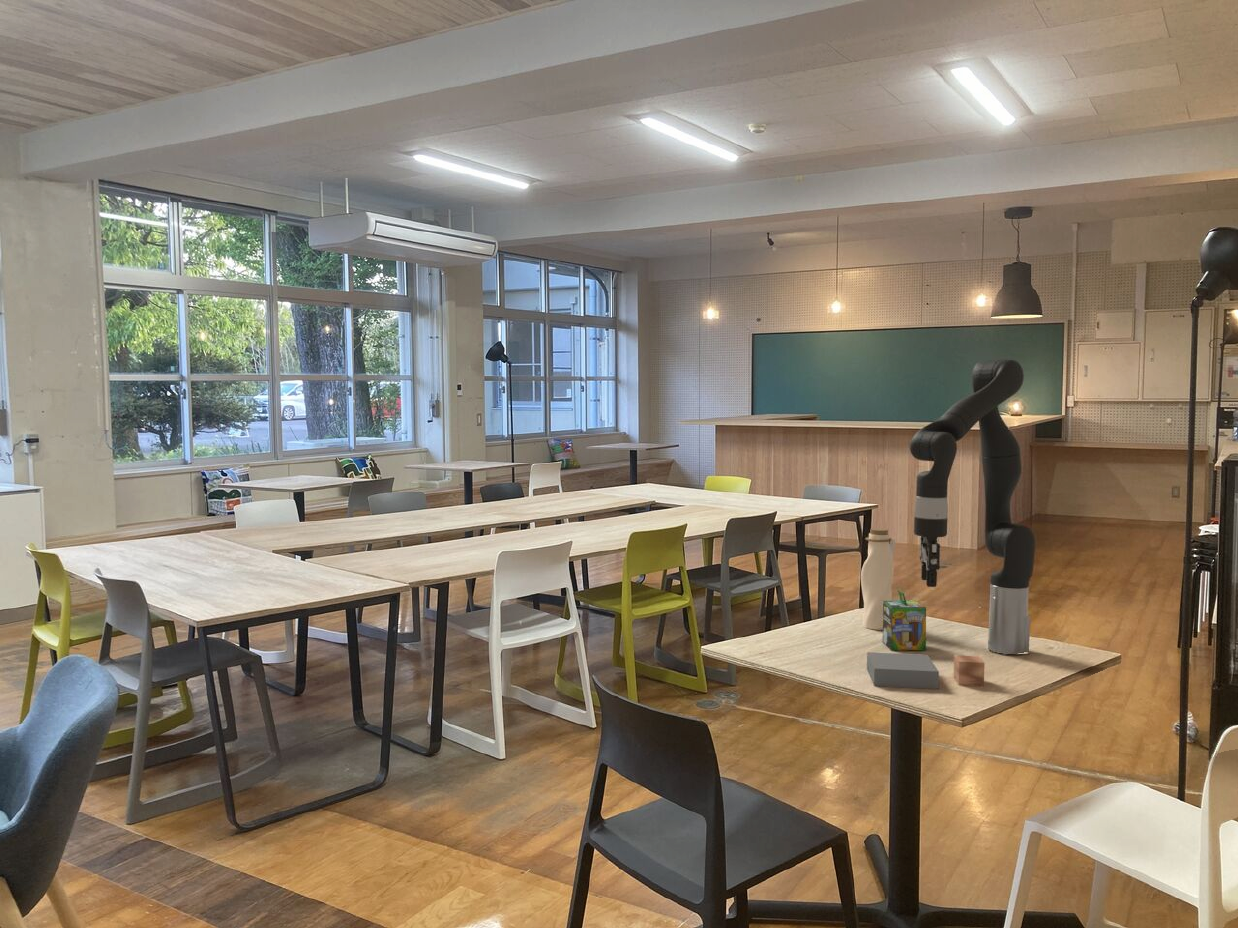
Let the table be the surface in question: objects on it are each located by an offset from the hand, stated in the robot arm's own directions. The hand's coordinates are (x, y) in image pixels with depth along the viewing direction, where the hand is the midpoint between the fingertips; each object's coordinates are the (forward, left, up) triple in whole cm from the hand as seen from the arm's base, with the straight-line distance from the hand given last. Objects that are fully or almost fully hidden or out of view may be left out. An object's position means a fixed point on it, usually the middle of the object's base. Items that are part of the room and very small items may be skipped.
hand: (928, 583), depth 226 cm
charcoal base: (+7, +8, -21) cm, 24 cm away
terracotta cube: (-8, +8, -21) cm, 24 cm away
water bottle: (+6, -44, -21) cm, 49 cm away
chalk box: (+2, -22, -21) cm, 30 cm away
